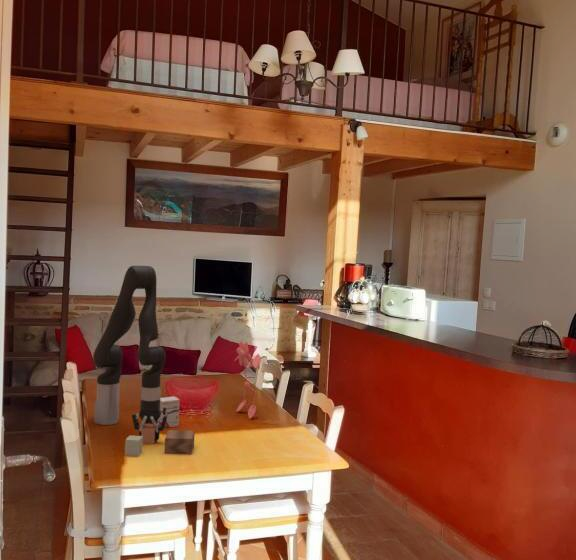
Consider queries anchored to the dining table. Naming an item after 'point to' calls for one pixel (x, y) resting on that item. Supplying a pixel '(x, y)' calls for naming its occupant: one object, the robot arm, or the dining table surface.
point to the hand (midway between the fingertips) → (149, 440)
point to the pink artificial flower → (244, 359)
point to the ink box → (169, 411)
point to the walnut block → (179, 442)
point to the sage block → (133, 445)
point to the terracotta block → (148, 434)
